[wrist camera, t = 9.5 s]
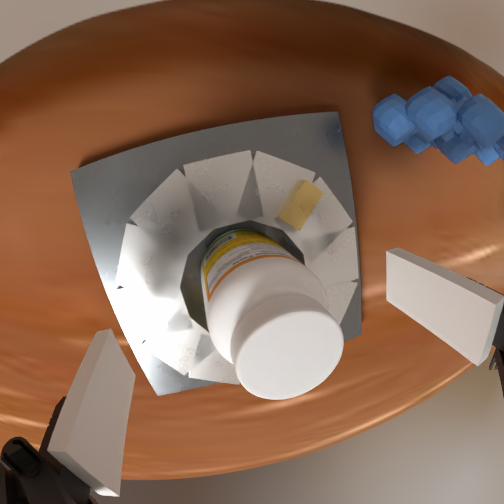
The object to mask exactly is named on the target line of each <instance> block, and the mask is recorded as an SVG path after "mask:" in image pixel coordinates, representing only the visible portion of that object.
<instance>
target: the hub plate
mask: <svg viewBox="0 0 504 504" xmlns="http://www.w3.org/2000/svg"><path fill="white" fill-rule="evenodd" d="M70 173H71V178H72V182H73V187H74V191H75V195H76V200H77V204H78V207H79V211H80V215H81V219H82V222H83V226H84V229H85V232H86V236H87V239H88V242H89V245H90V248H91V252H92V255H93V257H94V260H95V263H96V266H97V269H98V272H99V274H100V277H101V280H102V282H103V285H104V288H105V290H106V293H107V295H108V298H109V300H110V302H111V305H112V307H113V309H114V312H115V314H116V316H117V319H118V321H119V323H120V325H121V327H122V330H123V332H124V334H125V336H126V338H127V340H128V342H129V344H130V346H131V348H132V350H133V352H134V354H135V356H136V358H137V360H138V362H139V364H140V366H141V367H142V369H143V371H144V373H145V375H146V376H147V378H148V380H149V382H150V384H151V385H152V387H153V389H154V390H155V392H156V394H157V395H163V394H169V393H174V392H179V391H184V390H189V389H194V388H198V387H203V386H207V385H212V384H216V383H220V382H223V383H231V384H240V381H239V379H238V377H237V374H236V371H235V368H234V365H233V364H232V363H230V362H229V361H227V360H226V359H225V358H224V357H223V356H222V355H221V354H220V353H219V352H218V350H217V349H216V348H215V346H214V344H213V342H212V340H211V337H210V334H209V330H208V326H207V319H206V312H205V305H204V297H203V290H202V283H201V263H202V259H203V256H204V254H205V252H206V250H207V248H208V247H209V246H210V244H211V243H212V242H213V241H214V240H215V239H217V238H218V237H219V236H221V235H223V234H224V233H226V232H229V231H232V230H236V229H252V230H256V231H259V232H262V233H264V234H265V235H267V236H269V237H270V238H272V239H273V240H274V241H275V242H276V243H278V244H279V245H280V246H281V247H282V248H284V249H285V250H286V251H288V252H289V253H290V254H291V255H292V256H294V257H295V258H296V259H297V260H298V261H300V262H301V263H302V264H303V265H305V266H306V267H307V268H308V269H309V270H311V271H312V272H313V273H314V274H315V275H316V276H317V277H318V279H319V280H320V281H321V283H322V284H323V286H324V288H325V291H326V293H327V297H328V302H329V313H330V314H331V315H332V316H333V317H334V318H335V319H336V321H337V322H338V324H339V325H340V327H341V330H342V333H343V339H344V342H345V341H348V340H350V339H352V338H355V337H357V336H359V335H362V308H361V278H360V261H359V247H358V235H357V225H356V216H355V207H354V199H353V192H352V184H351V178H350V171H349V165H348V159H347V153H346V148H345V143H344V137H343V132H342V127H341V123H340V118H339V114H338V111H337V112H321V113H309V114H298V115H289V116H280V117H272V118H265V119H258V120H252V121H246V122H240V123H234V124H229V125H224V126H219V127H214V128H209V129H204V130H200V131H195V132H191V133H187V134H183V135H179V136H175V137H171V138H167V139H164V140H160V141H157V142H153V143H150V144H146V145H143V146H140V147H136V148H133V149H130V150H127V151H124V152H121V153H118V154H115V155H112V156H109V157H107V158H104V159H101V160H98V161H96V162H93V163H90V164H88V165H85V166H83V167H80V168H78V169H75V170H73V171H71V172H70Z"/></svg>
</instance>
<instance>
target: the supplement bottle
mask: <svg viewBox="0 0 504 504" xmlns="http://www.w3.org/2000/svg"><path fill="white" fill-rule="evenodd" d="M201 283H202V290H203V297H204V305H205V312H206V319H207V326H208V330H209V334H210V337H211V340H212V342H213V344H214V346H215V348H216V349H217V350H218V352H219V353H220V354H221V355H222V356H223V357H224V358H225V359H226V360H227V361H229V362H230V363H232V364H233V365H234V368H235V371H236V374H237V377H238V379H239V381H240V383H241V384H242V385H243V387H244V388H245V389H246V390H248V391H249V392H250V393H252V394H254V395H256V396H258V397H262V398H265V399H287V398H292V397H295V396H298V395H301V394H304V393H306V392H308V391H309V390H311V389H313V388H315V387H316V386H317V385H319V384H320V383H322V382H323V381H324V380H325V379H326V378H327V377H328V376H329V375H330V374H331V372H332V371H333V370H334V368H335V367H336V365H337V364H338V362H339V360H340V357H341V354H342V351H343V345H344V339H343V333H342V330H341V327H340V325H339V324H338V322H337V321H336V319H335V318H334V317H333V316H332V315H331V314H330V313H329V302H328V297H327V293H326V291H325V288H324V286H323V284H322V283H321V281H320V280H319V279H318V277H317V276H316V275H315V274H314V273H313V272H312V271H311V270H309V269H308V268H307V267H306V266H305V265H303V264H302V263H301V262H300V261H298V260H297V259H296V258H295V257H294V256H292V255H291V254H290V253H289V252H288V251H286V250H285V249H284V248H282V247H281V246H280V245H279V244H278V243H276V242H275V241H274V240H273V239H272V238H270V237H269V236H267V235H265V234H264V233H262V232H259V231H256V230H252V229H236V230H232V231H229V232H226V233H224V234H223V235H221V236H219V237H218V238H217V239H215V240H214V241H213V242H212V243H211V244H210V246H209V247H208V248H207V250H206V252H205V254H204V256H203V259H202V263H201Z"/></svg>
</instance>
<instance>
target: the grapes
mask: <svg viewBox="0 0 504 504" xmlns="http://www.w3.org/2000/svg"><path fill="white" fill-rule="evenodd" d="M371 113H372V117H373V125H374V129H375V131H376V132H377V133H378V134H379V135H380V136H381V137H382V138H383V139H384V140H385V141H387V142H388V143H389V144H391V145H392V146H393V147H395V146H397V145H399V144H401V143H402V142H404V143H405V144H406V145H407V146H408V147H409V148H410V149H412V150H413V151H414V152H415V153H416V154H418V153H420V152H422V151H424V150H425V149H427V148H429V147H430V146H431V145H432V146H433V147H435V148H436V149H437V148H439V150H440V151H441V152H442V153H443V154H444V155H445V156H446V157H447V158H449V159H450V160H451V161H452V162H453V163H454V164H457V163H458V162H460V161H462V160H464V159H465V158H467V157H469V156H470V155H472V154H473V153H474V154H475V155H476V156H477V157H478V158H479V159H480V160H481V161H482V162H483V163H484V164H485V165H486V166H487V165H489V164H491V163H493V162H494V161H496V160H497V159H498V158H499V157H501V158H502V159H503V160H504V113H503V112H502V111H501V110H500V109H499V108H498V107H497V106H496V105H495V104H494V103H493V102H492V101H491V100H489V99H488V98H487V97H485V96H484V95H482V94H481V93H480V94H478V95H475V96H473V95H472V94H471V92H470V91H469V89H468V88H467V87H466V86H464V85H463V84H462V83H461V82H459V81H458V80H457V79H455V78H453V77H451V76H450V75H449V76H446V77H444V78H442V79H441V80H439V81H437V82H436V83H435V84H434V86H433V87H431V86H428V87H426V88H424V89H422V90H420V91H418V92H417V93H415V94H414V95H412V96H411V97H410V98H409V100H408V101H406V100H405V99H403V98H402V97H400V96H399V95H397V94H395V93H394V94H392V95H390V96H387V97H386V98H384V99H383V100H381V101H380V102H379V103H377V104H376V105H375V106H374V108H373V109H372V111H371Z"/></svg>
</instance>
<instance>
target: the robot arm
mask: <svg viewBox="0 0 504 504" xmlns="http://www.w3.org/2000/svg"><path fill="white" fill-rule="evenodd" d="M386 263H387V301H388V302H390V303H391V304H393V305H394V306H396V307H397V308H398V309H400V310H401V311H403V312H404V313H406V314H407V315H408V316H410V317H411V318H413V319H414V320H415V321H417V322H418V323H420V324H421V325H422V326H424V327H425V328H427V329H428V330H429V331H431V332H432V333H434V334H435V335H436V336H438V337H439V338H440V339H442V340H443V341H444V342H446V343H447V344H449V345H450V346H451V347H453V348H454V349H455V350H457V351H458V352H459V353H461V354H462V355H463V356H465V357H466V358H467V359H469V360H470V361H471V362H472V363H474V364H475V365H476V366H478V365H480V364H481V363H482V362H483V361H484V360H485V359H486V358H487V357H488V355H489V352H490V349H491V346H492V345H494V346H495V347H496V350H495V352H494V355H493V358H492V361H491V363H490V366H489V370H492V367H493V365H494V362H496V366H495V369H498V371H499V376H500V380H501V385H502V390H503V396H504V295H503V294H501V293H499V292H497V291H495V290H493V289H491V288H489V287H487V286H484V285H483V284H481V283H477V282H476V281H474V280H472V279H470V278H467V277H464V276H462V275H460V274H458V273H455V272H453V271H451V270H449V269H447V268H444V267H442V266H440V265H438V264H435V263H433V262H431V261H429V260H426V259H424V258H422V257H419V256H417V255H415V254H412V253H410V252H407V251H405V250H403V249H400V248H398V247H397V248H394V249H391V250H388V251H386ZM135 377H136V375H135V374H134V372H133V370H132V368H131V367H130V365H129V363H128V361H127V359H126V357H125V356H124V354H123V352H122V350H121V348H120V346H119V344H118V342H117V340H116V338H115V336H114V334H113V332H112V330H111V329H107V330H102V331H97V332H96V334H95V336H94V338H93V340H92V342H91V344H90V346H89V348H88V350H87V352H86V354H85V357H84V359H83V361H82V363H81V365H80V367H79V369H78V372H77V374H76V376H75V378H74V381H73V383H72V385H71V388H70V390H69V392H68V395H67V396H66V397H63V398H62V399H61V400H60V402H59V403H58V404H57V405H56V407H55V409H54V412H53V414H52V418H51V419H50V422H49V426H48V427H47V430H46V432H45V435H44V438H43V441H42V443H41V446H40V449H39V452H38V451H37V450H36V449H35V448H34V447H33V446H32V445H31V444H30V443H29V442H28V441H27V440H26V439H24V438H22V437H14V438H12V439H10V440H9V441H8V442H7V443H6V444H5V445H4V447H3V449H2V452H1V460H2V461H3V462H4V463H5V464H6V465H7V466H8V467H9V468H10V469H12V470H8V469H7V468H6V467H5V466H4V465H2V463H0V504H97V502H96V501H95V499H94V498H93V497H92V496H90V495H89V493H90V488H92V489H93V490H94V491H96V492H97V493H98V494H100V495H107V496H120V482H121V470H122V461H123V452H124V444H125V436H126V429H127V422H128V416H129V410H130V404H131V398H132V392H133V387H134V382H135Z"/></svg>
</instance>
